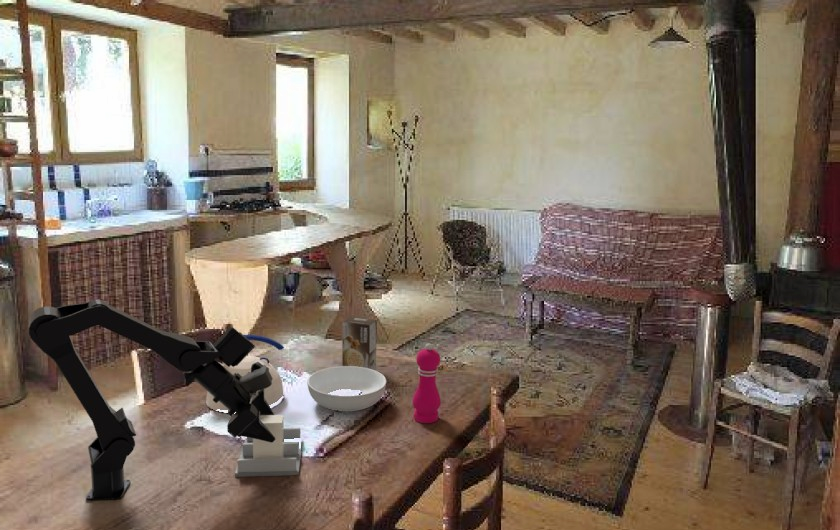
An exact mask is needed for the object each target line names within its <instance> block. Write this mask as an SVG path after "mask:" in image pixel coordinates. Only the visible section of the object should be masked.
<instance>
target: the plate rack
mask: <svg viewBox="0 0 840 530" xmlns="http://www.w3.org/2000/svg"><path fill="white" fill-rule="evenodd" d="M283 430H284V439H294V438H301V427H283ZM241 445H242V448H241V452H240V455H239V458H237V465H236V469H235V472H234V477H236V478H239V477H244V478H245V477H269V476H271V477H272V476H273V477H274V476H277V477H278V476H299V474H300V467H301V466H300V465H301V460H302V459H301V457H302V451H301V450H300V449H299V442H284V458H259V459H253V438H249V437H246V438H245V439H244V442H242V444H241Z"/></svg>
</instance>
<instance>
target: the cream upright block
mask: <svg viewBox="0 0 840 530" xmlns="http://www.w3.org/2000/svg"><path fill="white" fill-rule="evenodd" d="M260 420H261V422H262V423H263V424H264V425H265V426H266V427H267V428H268V430H269V431H270V432H271V433H272V434H273V436H274V437H275V441H274V442H272V443H271V442H267V441H263V440H259V439H254V438H253V459H259V458H284V430H283V428H284V414H275V415H260Z"/></svg>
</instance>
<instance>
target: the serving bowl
mask: <svg viewBox="0 0 840 530" xmlns="http://www.w3.org/2000/svg"><path fill="white" fill-rule="evenodd" d="M306 383H307V389H308V392H309V395H310V396H311V398H312V399H313V400H314V402H316V403H317V404H318V405H320V406H322V407H323V408H326V409H329V410H332V409H333V411H337V410H338V411H337V412H339V411H340V412H355V411H354V410H356V411H360V409H361V410H365V409H368V408H370V407H372V406H373V405H375V404H376V403H378V402H379V401H380V399H381V398H382V397H383V395H384V393H385V391H386V386H387V378H386V377H385V376H384V374H383V373H381V372H379V371H378V370H376V371H375V370H372V369H368V368H364V367H356V366H342V365H340V366H331V367H326V368H323V369H320V370H317V371H315V372H313V373H312V374H310V376H308V379H307V382H306ZM339 389H340V390H341V389H351V390H360V391H361V392H363V393H364V394H362V395H354V396H339V395H331V394H328V393H330V392H333V391H336V390H339ZM364 408H365V409H364Z"/></svg>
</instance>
